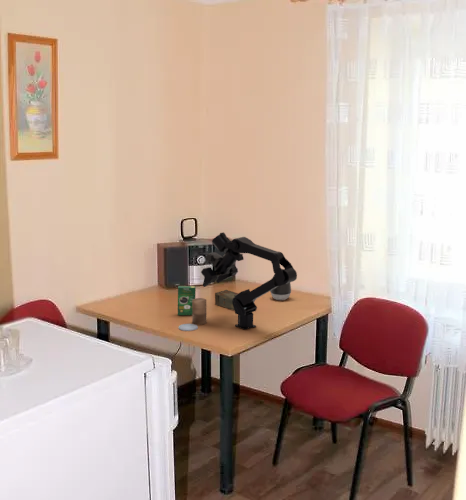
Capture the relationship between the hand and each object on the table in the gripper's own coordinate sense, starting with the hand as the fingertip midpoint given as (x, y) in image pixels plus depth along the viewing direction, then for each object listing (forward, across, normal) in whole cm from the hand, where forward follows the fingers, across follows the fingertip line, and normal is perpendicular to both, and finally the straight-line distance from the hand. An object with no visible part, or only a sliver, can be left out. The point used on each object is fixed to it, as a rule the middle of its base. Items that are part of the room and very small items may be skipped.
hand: (210, 284), depth 271 cm
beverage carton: (+14, -19, +8) cm, 25 cm away
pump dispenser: (+8, -45, +15) cm, 48 cm away
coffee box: (+19, +3, +1) cm, 19 cm away
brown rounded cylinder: (+12, +8, +10) cm, 17 cm away
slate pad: (+11, +16, +11) cm, 23 cm away
